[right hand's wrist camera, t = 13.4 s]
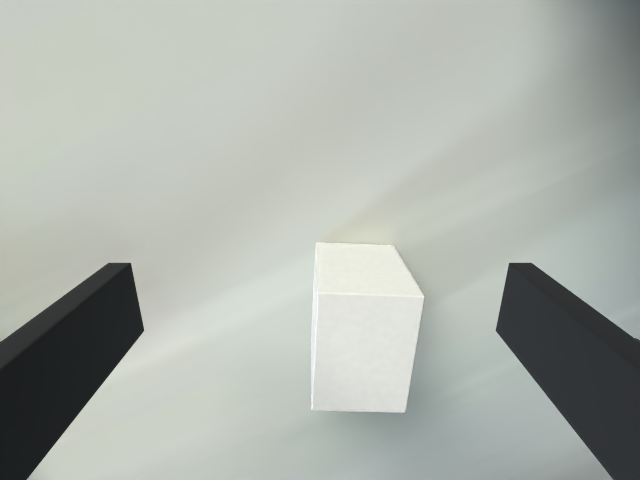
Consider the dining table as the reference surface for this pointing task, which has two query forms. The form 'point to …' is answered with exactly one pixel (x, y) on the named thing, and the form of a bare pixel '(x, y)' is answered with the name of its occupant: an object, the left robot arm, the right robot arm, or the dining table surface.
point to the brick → (363, 328)
